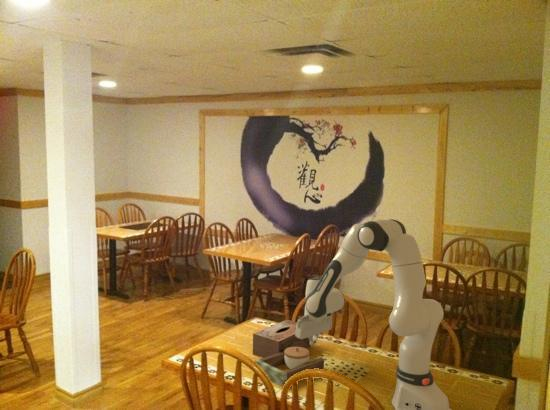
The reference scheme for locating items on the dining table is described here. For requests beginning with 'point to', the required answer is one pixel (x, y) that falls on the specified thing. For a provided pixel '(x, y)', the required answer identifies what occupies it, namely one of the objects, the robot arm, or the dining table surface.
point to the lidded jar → (296, 356)
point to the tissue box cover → (277, 339)
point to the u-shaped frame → (278, 360)
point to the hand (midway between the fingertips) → (313, 343)
